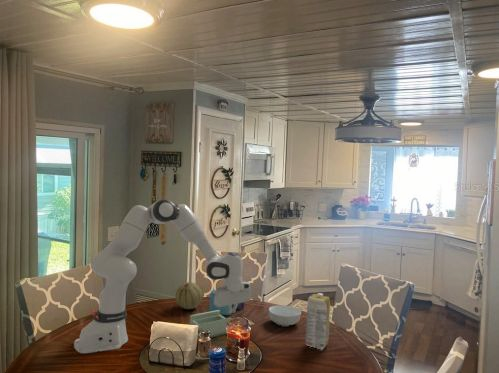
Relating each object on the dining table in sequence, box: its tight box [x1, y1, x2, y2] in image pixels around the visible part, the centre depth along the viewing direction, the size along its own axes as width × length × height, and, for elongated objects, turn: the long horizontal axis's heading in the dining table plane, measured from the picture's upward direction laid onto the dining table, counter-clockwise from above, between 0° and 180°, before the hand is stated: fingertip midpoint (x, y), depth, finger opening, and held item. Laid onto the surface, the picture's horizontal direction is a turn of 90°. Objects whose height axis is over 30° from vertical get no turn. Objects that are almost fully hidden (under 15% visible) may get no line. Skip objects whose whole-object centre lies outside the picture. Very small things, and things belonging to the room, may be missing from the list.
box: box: [189, 310, 233, 338], centre depth 193 cm, size 16×13×7 cm
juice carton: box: [305, 292, 331, 351], centre depth 181 cm, size 9×8×24 cm
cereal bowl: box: [268, 304, 302, 327], centre depth 206 cm, size 17×17×7 cm
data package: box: [208, 289, 232, 316], centre depth 217 cm, size 12×4×12 cm, turn 91°
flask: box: [232, 302, 245, 311], centre depth 225 cm, size 9×3×11 cm, turn 91°
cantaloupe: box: [175, 281, 203, 310], centre depth 222 cm, size 15×15×15 cm
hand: (232, 312), depth 200 cm, fingers closed
